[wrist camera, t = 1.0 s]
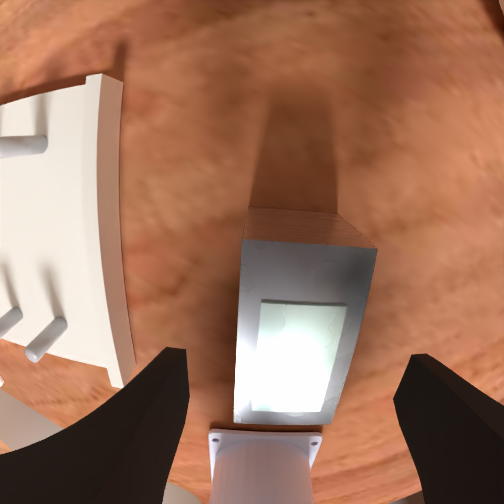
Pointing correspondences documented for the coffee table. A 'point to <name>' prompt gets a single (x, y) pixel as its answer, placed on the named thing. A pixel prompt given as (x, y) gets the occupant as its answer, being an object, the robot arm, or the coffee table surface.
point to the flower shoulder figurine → (1, 380)
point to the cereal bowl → (502, 5)
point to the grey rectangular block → (298, 314)
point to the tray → (64, 227)
